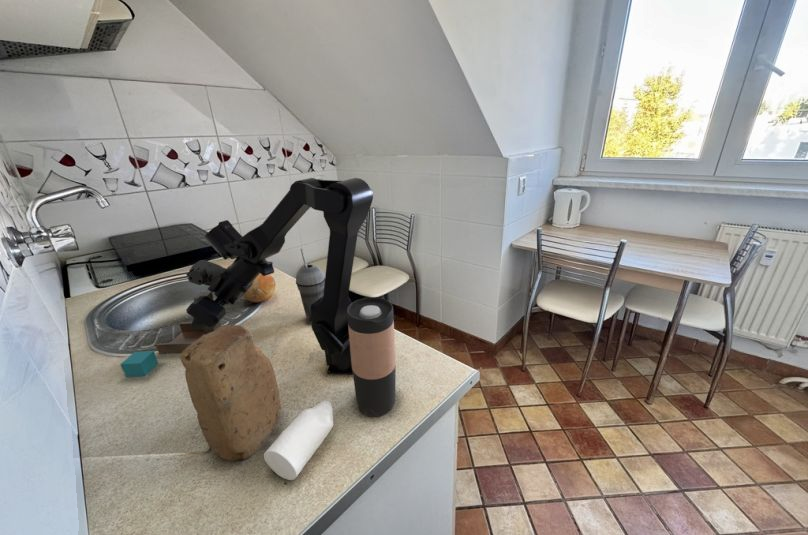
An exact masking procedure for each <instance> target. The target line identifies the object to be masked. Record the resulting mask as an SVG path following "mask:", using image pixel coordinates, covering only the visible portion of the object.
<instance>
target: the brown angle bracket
mask: <svg viewBox="0 0 808 535" xmlns="http://www.w3.org/2000/svg"><path fill="white" fill-rule="evenodd" d="M200 296H207V297H209V298H210V299H212V300H213V301H214V300H215V299H214V296H213V292H211V291H200V292H199V293H198V294H197V295H195V296H194V297H193V302H194V301H195V300H196V299H197V298H198V297H200ZM192 322H193V321H188V322H185V321H184V322H183V321H182V322H179V324H178V326H179V328H180V331H181V332H180V333H179V334H178V335H177V336H176V337H175V338H174V339H173V340H171V342H162V343H156V344H155V347H156V349H157V352H158V354H159V355H168V354H182V352H183V351H184V350H185V349H186V348H187V347H188V346H189V345H191V344H192V343H193V342H195V341H196V340H198V339H199V338H201V337H202V336H204V335H206V334H208V333H211V332H213V331H214V330H215V329H217V328H219V327H221V326H222V324H221V323H222V322H221V320H220V321H219V322H218V323H217V324H216V326H215V327H214V328H210V327H206V328H203V329H200V330H197V331H193V330H191V329H190V328H191V325H192Z"/></svg>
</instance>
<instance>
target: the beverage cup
mask: <svg viewBox="0 0 808 535" xmlns="http://www.w3.org/2000/svg"><path fill="white" fill-rule="evenodd" d="M300 252H301V256H302V260H303V264H304V265H303V266H302V267H300V268H299V269H298V271H297V272H296V276H295V285H296V288H297V289H298V292H299V295H300V299H301V302H302V306H303V311H304V315H305V318H306V321H307V322H308V324H311V322H309V319H310V317H311V309H310V308H311V304H313V303H314V302H315V301H317V300H318V299H320V298H321V297H322V296H323V293H324V284H325V275H324V273H323V270H322V269H321V268H319V267H318V266H317V265H316V264H315V265H314V264H307V261H306V256H305V252H304V249H303V248H300Z"/></svg>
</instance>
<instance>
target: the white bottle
mask: <svg viewBox="0 0 808 535" xmlns="http://www.w3.org/2000/svg"><path fill="white" fill-rule="evenodd" d="M332 406H333V404H331V402H330V401H329V400H323V401H321V402H319V403H318V404H317V405H316V406H314V407H310V408H305V409H303V410H302V411H300V412H299V414H298V415H297V416H296V417H295V419H293V421H292V422H291V423H289V425H288V426H287V427H286V428H285V429H283V431H281V433H280V434H279V436H277V438H276V439H275V441H274V442H273V443H272V444H271V445H270V446H269V448H268V449H267V450H265V451H264V454H263V458H264V460H265V463H266V464H267V465H268V467H269V468H270V469H271V470H272V471H273V472H274V473H275V474H276V475H278V476H279V477H281V478H282V479H285V480H288V481H294V480H296V479H297V477H298V476H299V474H300V473H301V472H302V471H303V469H304V468H305V466H306V465H307V463H308V461H309V460H310V459H311V458H312V457H313V455H314V454H315V452H316V451H317V450H318V448H319V447H320V446H321V445H322V443H323V442H324V440H325V439H326V438H327V436H328V435H329V433H330V431H331V430H332V429H333V427H334V409H333V407H332Z"/></svg>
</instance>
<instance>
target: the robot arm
mask: <svg viewBox="0 0 808 535" xmlns="http://www.w3.org/2000/svg"><path fill="white" fill-rule="evenodd" d="M373 199H374V193H373V189H371V187H370V185H369V184H368V183H367V182H366V180H363V179H362V178H358V177H354V178H349V179H346V180H337V179H336V180H334V179H320V178H315V177H308V178H304V179H299V180H295V181H294V182H293V183H291V185H290V187H289V190H288V191H287V192H286V194H285V195H284V196H283V198H282V199H281V200H280V201H279V202H278V204H276V206H275V208H273V209H272V211H271V212H270V214H269V215H268V216H267V217H266V218H265V220H264V221H263V222H262V223H261V224H260V225H258V226H256V227H254V228H253V229H251V230H249V231H248V232H246V233H245V234H244V235H242V234H241V233H240V232H239V231H238V230H237V229H236V228H235V227H234V225H233V224H232V223H231V222H230V221H229V220H228V219H225V220H222V221H218V224H217V225H216V226H214V227H213V228H211V229H210V230H209V231H208V232H206V233H205V235H204V238H205V239H204V240H206V242H207V243H208V244H209V245H210V246H211V248H213V249H214V250H215V251H216V252H217V253H218V254H219V256H221V258H222V259H223V260H224V261H226V260H228V259H230V260H234V261H232V263H231V264H230V265H228V267H227V268H226V267H223V266H222V265H220V264H218V263H215V262H211V261H208V260H206V259H200V260H198V261H197V262H195V263H194V264H192V265H191V266H190V267H191V268H189V271H188V272H187V273H186V277H188V278H187V280H188V282H189V283H192V284H195V285H198V286H202V285H204V286H208V287H207V291H208V292H212V293H214V296H215V297H216V298H215V299H214V301H213V300H212V299H210V298H209V297H207V296H200V297H198V298H197V299H196V300H195V301H194V300H193V301H192V302H191V303H190V304H189V305H188V307H187V308H186V309H185V311H186V314H188V315H189V316H191V317H193V319H192V321H191V322H192V325H191V328H190V329H191V330H193V331H197V330H200V329H203V328H206V327H210V328H214V327H215V326H216V324H217V323H218V322H219V321H220V322H221V320H222V319H223V318H224V317H225V316H226V315H227V312H226V308H225V306H227V305H229V304H230V305H232V306H233V305H234V304H236V302H237V301H238V300H239V299H240V298H242V297H243V296H242V295H243V294H245V293H246V291H247V290H248V289H249V288H250V287H251V286H252V285H253V281H254V280H255V279H256V278H257V276H258V275H259V274H260V273H261V274H262V275H263V276H266V275H269V274H271V275H272V274H274V273H275V268H274V266H273V261H268V260H267V259H269V258H271V257H273V256H275V255H277V254H279V253H280V252H281V250H282V248H283V247H284V245H285V243H286V236H287V234H288V233H289V231H290V230H292V228H293V227H294V226H295V225H296V224H297V223H298V222H299V220H300V219H301V218H303V216H304V215H305V214H306V213H307V212H308V210H310V209H313V210H315V211H319V212H323V218H324V221H325V223H326V225H327V227H328V229H329V239H328V246H327V257H326V264H325V265H326V266H325V275H324V277H325V281H324V282H325V284H324V293H323V296H322V297H321V298H320V299H318V300H317V301H315V302H314V303H313V304H311V308H310V309H311V317H310V319H309V322H311V323H310V325H311V326H310V327H311V330H312V332H313V334H314V336H315V339H316V340H317V342H318V345H319V347H320V349H321V350H322V351H324V356H325V363H326V366H327V369H326V374H327V375H347V376H348V375H349V376H353V372H352V363H351V352H350V341H349V329H348V318H347V309H348V307H349V305H350V304H351V303H352V301H351V299H350V297H349V295H350V294H349V293H350V286H351V280H352V273H353V266H354V260H355V254H356V247H357V240H358V234H359V231H360V229H361V228H362V226H363V224H364V222H365V221H366V220H367V217H368V215H369V213H370V209H371V206H372V203H373ZM309 322H308V323H309Z"/></svg>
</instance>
